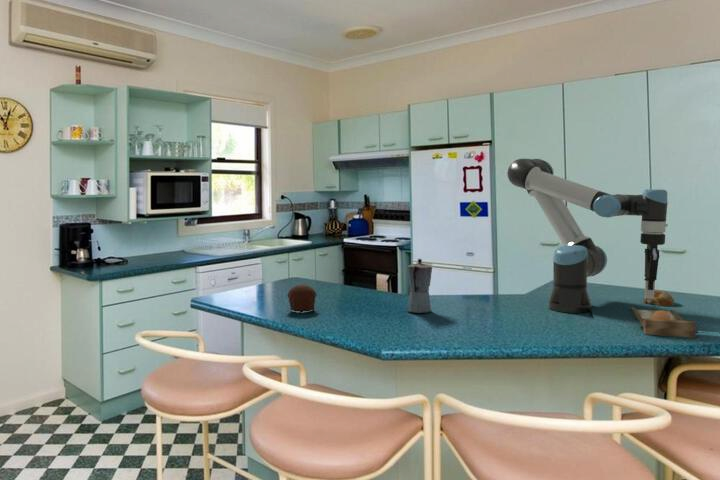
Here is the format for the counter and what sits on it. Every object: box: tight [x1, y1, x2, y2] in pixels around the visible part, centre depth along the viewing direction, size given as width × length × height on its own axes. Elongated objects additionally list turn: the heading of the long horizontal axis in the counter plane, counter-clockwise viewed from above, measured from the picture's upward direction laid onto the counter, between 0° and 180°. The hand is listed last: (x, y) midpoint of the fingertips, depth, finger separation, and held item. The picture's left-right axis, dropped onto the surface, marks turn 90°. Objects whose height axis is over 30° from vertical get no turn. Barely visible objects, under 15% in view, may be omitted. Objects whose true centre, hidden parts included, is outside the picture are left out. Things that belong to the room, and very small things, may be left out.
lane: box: [630, 306, 697, 339], centre depth 163 cm, size 13×29×4 cm, turn 159°
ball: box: [652, 309, 671, 320], centre depth 157 cm, size 5×5×5 cm
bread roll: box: [643, 289, 675, 307], centre depth 188 cm, size 10×10×8 cm
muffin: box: [286, 284, 318, 312], centre depth 193 cm, size 12×11×10 cm
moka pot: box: [406, 258, 433, 314], centre depth 187 cm, size 10×15×20 cm, turn 164°
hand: (649, 298), depth 179 cm, fingers closed
